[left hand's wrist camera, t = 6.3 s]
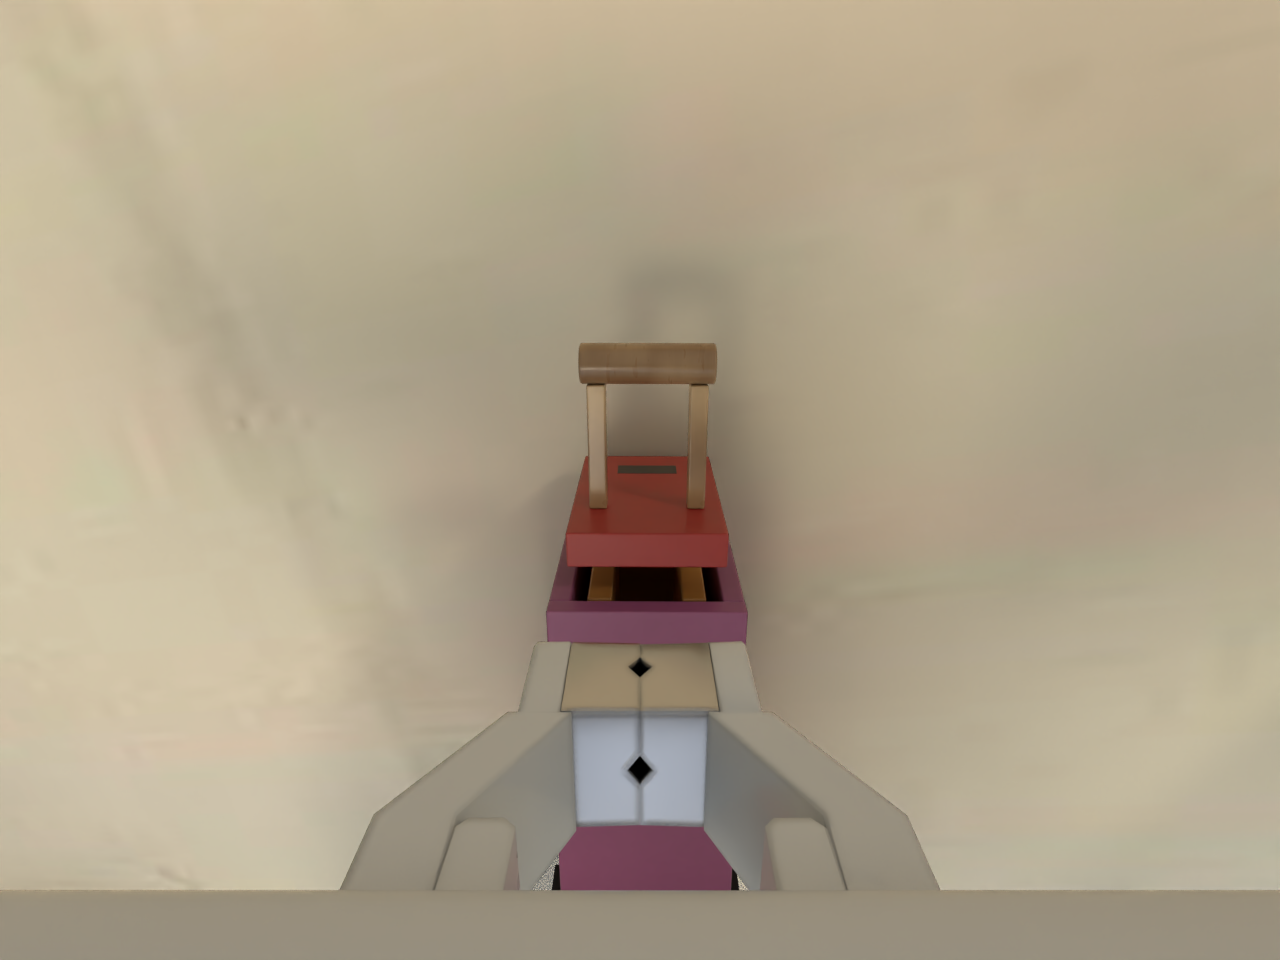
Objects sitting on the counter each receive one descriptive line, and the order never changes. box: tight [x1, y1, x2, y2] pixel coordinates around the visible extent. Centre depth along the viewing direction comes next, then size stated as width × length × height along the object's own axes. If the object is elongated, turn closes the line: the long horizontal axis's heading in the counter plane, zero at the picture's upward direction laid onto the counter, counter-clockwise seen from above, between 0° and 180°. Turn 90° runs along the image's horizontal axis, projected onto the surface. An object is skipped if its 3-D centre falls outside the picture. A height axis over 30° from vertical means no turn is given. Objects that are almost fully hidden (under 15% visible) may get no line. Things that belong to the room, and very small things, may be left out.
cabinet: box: [546, 537, 748, 890], centre depth 30 cm, size 19×6×9 cm, turn 0°
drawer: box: [566, 343, 729, 602], centre depth 28 cm, size 24×5×8 cm, turn 0°
